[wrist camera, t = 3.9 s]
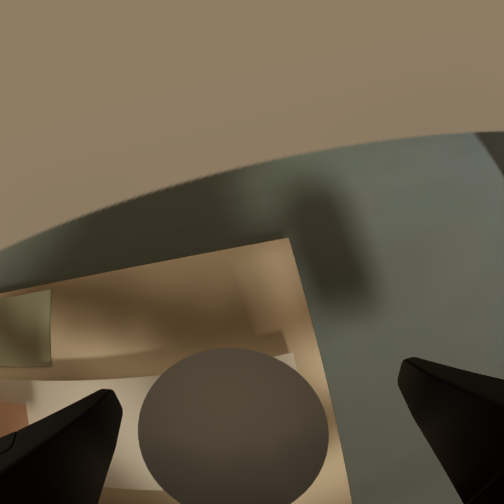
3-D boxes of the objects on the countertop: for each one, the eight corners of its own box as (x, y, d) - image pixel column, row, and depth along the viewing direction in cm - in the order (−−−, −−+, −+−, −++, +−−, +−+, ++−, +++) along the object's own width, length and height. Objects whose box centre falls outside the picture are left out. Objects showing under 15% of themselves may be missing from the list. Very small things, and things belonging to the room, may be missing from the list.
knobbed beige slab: (315, 464, 11) (406, 564, 2) (5, 461, 10) (-108, 458, 1) (290, 354, 14) (354, 287, 5) (-7, 379, 13) (-121, 341, 3)
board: (352, 530, 10) (358, 537, 9) (10, 516, 8) (2, 518, 7) (286, 245, 18) (288, 236, 17) (-18, 302, 16) (-26, 298, 15)
